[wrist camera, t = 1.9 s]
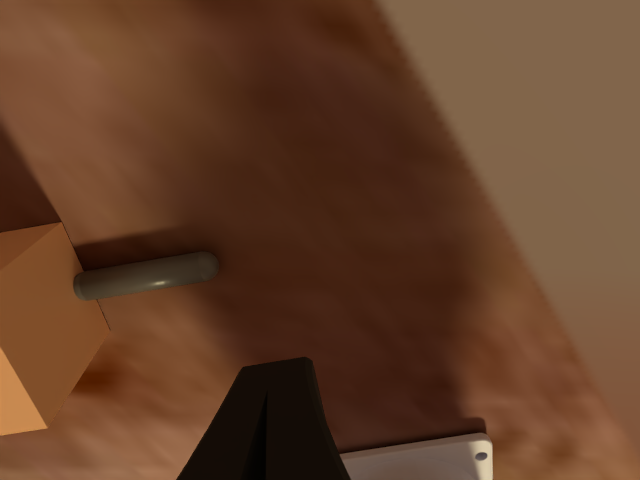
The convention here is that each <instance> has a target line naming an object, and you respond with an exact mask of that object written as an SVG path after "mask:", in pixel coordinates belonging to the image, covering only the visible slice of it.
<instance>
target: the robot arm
mask: <svg viewBox="0 0 640 480" xmlns="http://www.w3.org/2000/svg"><path fill="white" fill-rule="evenodd" d="M176 480H493V451H492V443H491V440H490V438H489V436H488V435H486V434H484V433H474V434H467V435H461V436H454V437H448V438H441V439H435V440H428V441H422V442H415V443H409V444H402V445H396V446H389V447H382V448H376V449H369V450H363V451H356V452H350V453H343V454H339V452H338V450H337V448H336V445H335V443H334V440H333V438H332V435H331V433H330V430H329V428H328V426H327V423H326V419H325V415H324V410H323V406H322V401H321V397H320V393H319V388H318V384H317V379H316V375H315V370H314V366H313V362H312V360H310V359H309V358H307V357H301V358H295V359H288V360H282V361H276V362H270V363H264V364H258V365H251V366H245V367H243V368H242V369H241V370H240V372H239V373H238V375H237V377H236V379H235V381H234V382H233V384H232V386H231V388H230V390H229V392H228V394H227V395H226V397H225V399H224V401H223V403H222V404H221V406H220V408H219V410H218V412H217V413H216V415H215V417H214V419H213V420H212V422H211V424H210V426H209V427H208V429H207V431H206V432H205V434H204V436H203V437H202V439H201V441H200V442H199V444H198V445H197V447H196V449H195V450H194V452H193V454H192V455H191V457H190V459H189V460H188V462H187V464H186V465H185V467H184V468H183V470H182V472H181V473H180V475H179V476H178V478H177V479H176Z"/></svg>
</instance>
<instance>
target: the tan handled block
mask: <svg viewBox="0 0 640 480" xmlns="http://www.w3.org/2000/svg"><path fill="white" fill-rule="evenodd" d="M218 270H219V262H218V260H217V258H216V257H215V256H214V255H213V254H212V253H210V252H205V251H202V252H196V253H190V254H184V255H178V256H172V257H166V258H160V259H154V260H148V261H142V262H137V263H131V264H125V265H119V266H113V267H107V268H101V269H95V270H89V271H83V269H82V266H81V264H80V262H79V260H78V258H77V255H76V253H75V251H74V249H73V246H72V244H71V242H70V240H69V237H68V235H67V233H66V231H65V228H64V226H63V224H62V222H59V223H53V224H47V225H41V226H36V227H30V228H24V229H18V230H13V231H7V232H1V233H0V435H6V434H13V433H19V432H26V431H32V430H39V429H45V428H48V427H49V425H50V424H51V422H52V421H53V419H54V418H55V416H56V414H57V413H58V411H59V410H60V408H61V407H62V405H63V404H64V402H65V400H66V399H67V397H68V396H69V394H70V393H71V391H72V390H73V388H74V386H75V385H76V383H77V382H78V380H79V379H80V377H81V376H82V374H83V372H84V371H85V369H86V368H87V366H88V365H89V363H90V362H91V360H92V358H93V357H94V355H95V354H96V352H97V351H98V349H99V348H100V346H101V344H102V343H103V341H104V340H105V338H106V337H107V335H108V334H109V332H110V329H109V327H108V325H107V322H106V320H105V318H104V316H103V313H102V311H101V309H100V307H99V305H98V302H97V300H96V299H102V298H108V297H114V296H120V295H126V294H132V293H138V292H144V291H150V290H156V289H162V288H168V287H174V286H180V285H186V284H192V283H198V282H204V281H209V280H211V279H212V278H214V277H215V276H216V275H217V273H218Z"/></svg>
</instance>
